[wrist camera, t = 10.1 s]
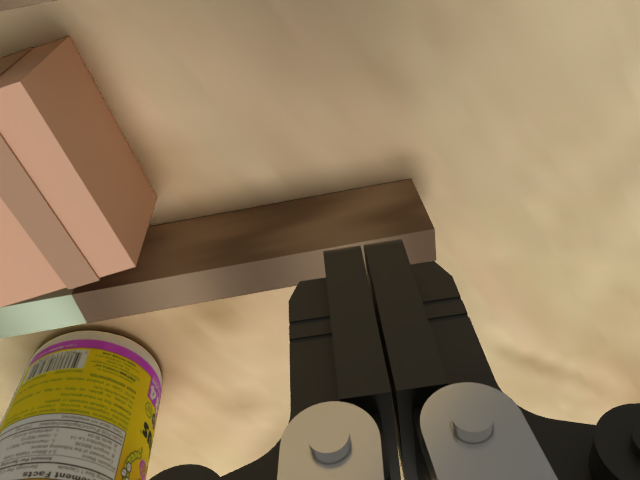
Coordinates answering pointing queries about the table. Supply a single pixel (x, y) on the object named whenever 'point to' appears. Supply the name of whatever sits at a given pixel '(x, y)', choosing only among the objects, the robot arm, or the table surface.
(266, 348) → the table surface
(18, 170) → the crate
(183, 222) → the bar
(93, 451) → the supplement bottle
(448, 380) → the robot arm
